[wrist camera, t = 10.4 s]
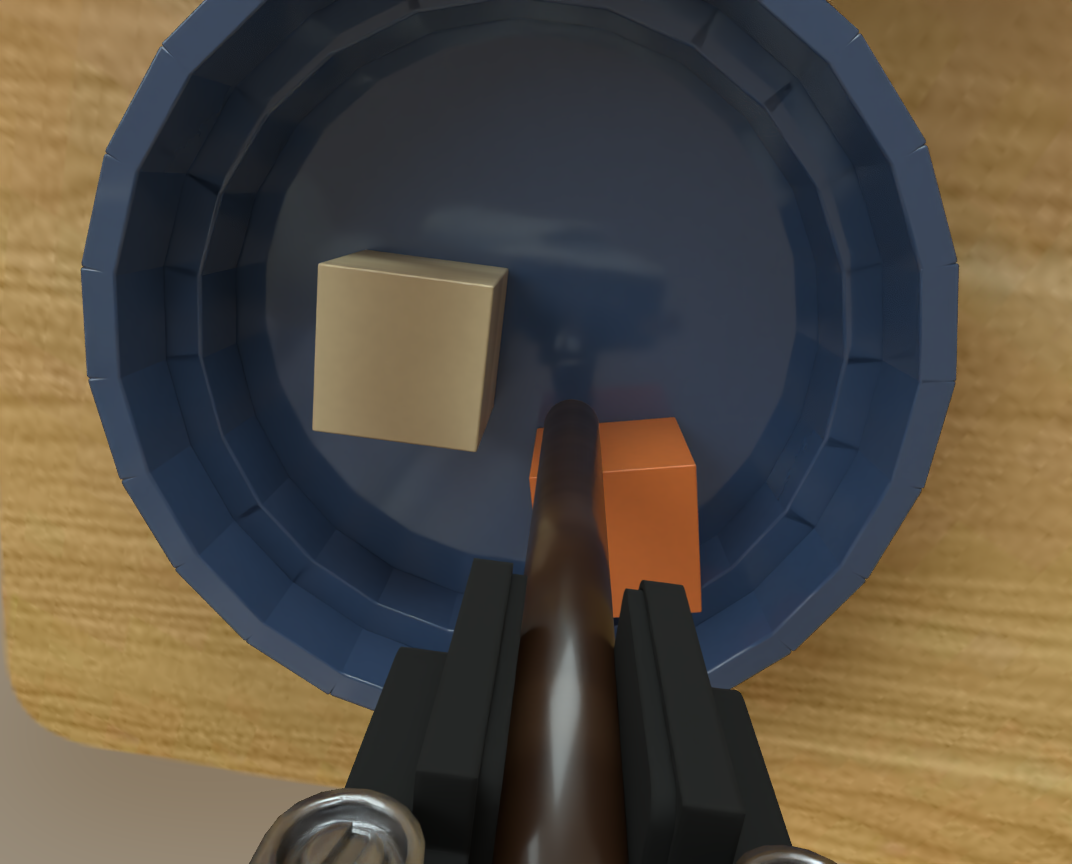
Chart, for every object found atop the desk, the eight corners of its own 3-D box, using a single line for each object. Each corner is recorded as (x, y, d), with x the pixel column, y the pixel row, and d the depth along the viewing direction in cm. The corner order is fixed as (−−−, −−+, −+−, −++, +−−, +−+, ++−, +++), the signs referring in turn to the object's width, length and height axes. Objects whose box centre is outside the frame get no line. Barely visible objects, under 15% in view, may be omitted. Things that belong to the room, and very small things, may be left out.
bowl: (193, 592, 25) (104, 686, 20) (181, -96, 19) (51, -191, 14) (785, 672, 25) (835, 785, 20) (961, 2, 19) (1090, -60, 14)
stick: (542, 439, 20) (436, 1218, 5) (548, 389, 20) (452, 1088, 5) (594, 446, 20) (636, 1247, 5) (602, 395, 20) (671, 1117, 5)
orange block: (549, 552, 23) (544, 622, 20) (537, 427, 22) (528, 477, 18) (681, 542, 23) (702, 612, 19) (675, 416, 22) (696, 464, 18)
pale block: (356, 389, 22) (311, 431, 18) (364, 249, 21) (317, 262, 17) (493, 407, 22) (476, 453, 18) (508, 267, 21) (494, 286, 17)
